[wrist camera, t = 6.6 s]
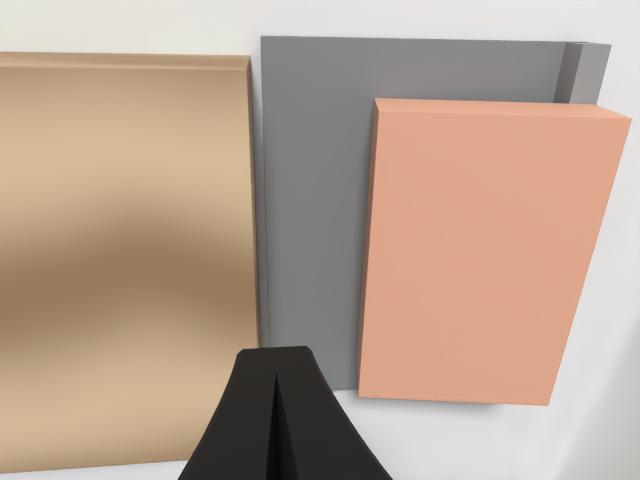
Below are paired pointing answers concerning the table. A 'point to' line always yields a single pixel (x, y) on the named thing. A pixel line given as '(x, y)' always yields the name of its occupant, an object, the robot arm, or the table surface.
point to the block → (479, 244)
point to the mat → (368, 157)
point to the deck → (122, 253)
